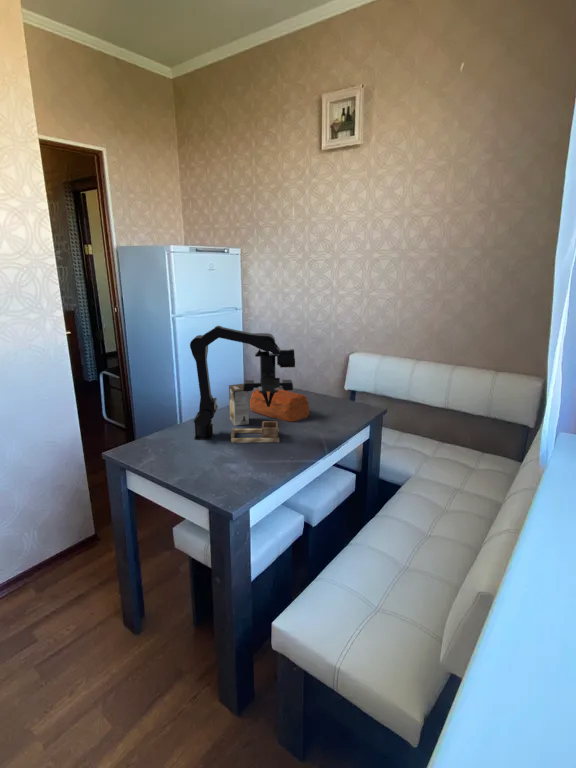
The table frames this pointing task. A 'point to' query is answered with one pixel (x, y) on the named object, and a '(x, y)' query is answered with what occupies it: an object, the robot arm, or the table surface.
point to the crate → (269, 429)
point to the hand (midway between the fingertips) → (268, 406)
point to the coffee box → (238, 405)
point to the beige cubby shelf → (249, 440)
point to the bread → (281, 405)
